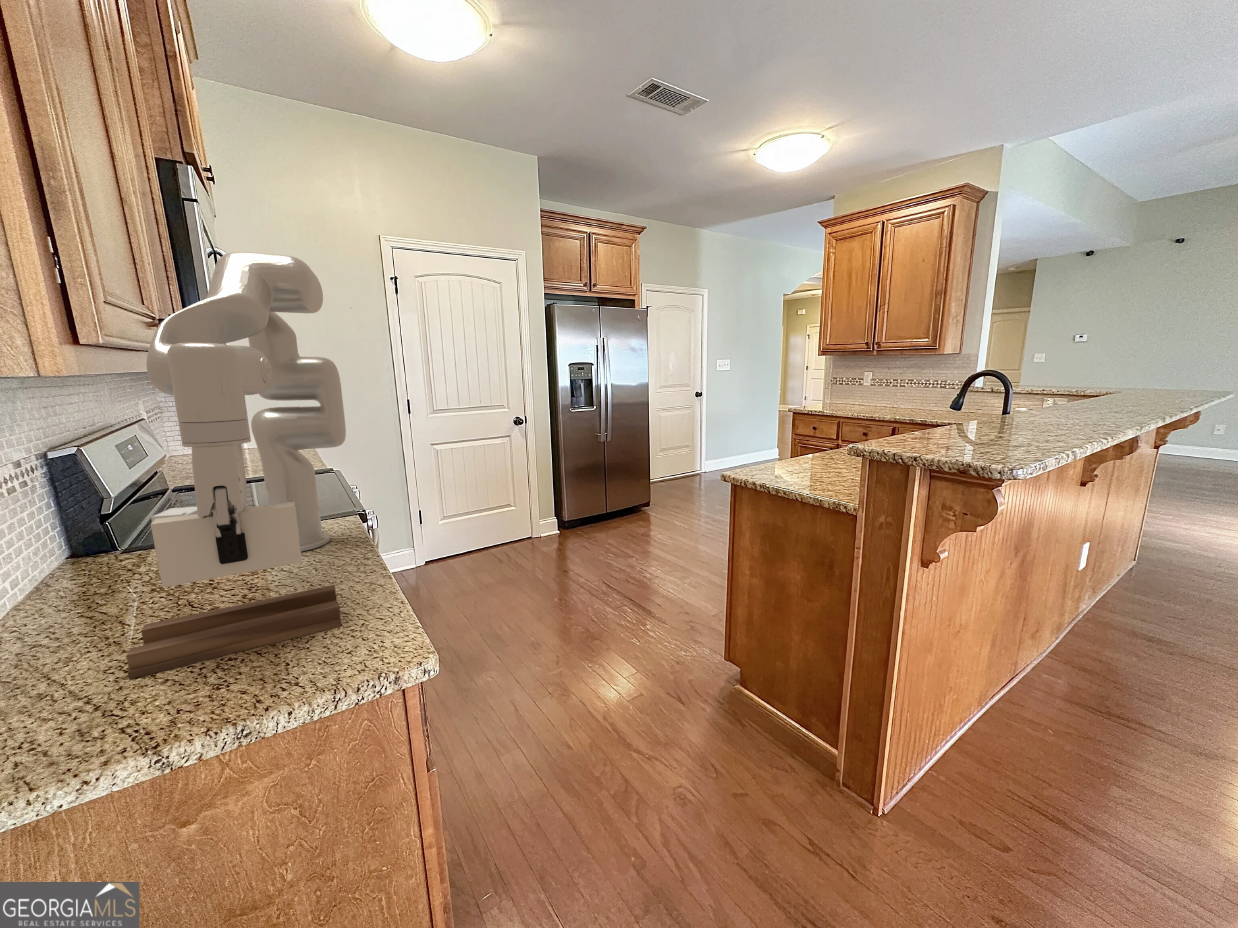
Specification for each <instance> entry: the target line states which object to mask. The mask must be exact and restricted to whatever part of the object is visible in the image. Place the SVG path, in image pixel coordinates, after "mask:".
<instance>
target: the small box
mask: <svg viewBox="0 0 1238 928" xmlns="http://www.w3.org/2000/svg"><path fill="white" fill-rule="evenodd" d="M192 514H198V511H197V506H188V507H187V506H184V507H171V508H168V509H166V510H164V511H162V512H158V513H157V514H155V515H151V516H150V519H151V523H152V522H153V521H154V520H155V519H159V518H167V517H175V516H184V515H192Z"/></svg>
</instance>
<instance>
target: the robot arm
mask: <svg viewBox="0 0 1238 928" xmlns="http://www.w3.org/2000/svg"><path fill="white" fill-rule="evenodd" d="M323 293H324V291H323V288H322V285H321V282H320V280H319V278H318V277H317V275H316V273H314V271H313V270H312V269H311V267H310V266H309V265H308V264H307V263H306V262H304V260H301V259H299V258H298V257H295V256H293V255H292V256H291V255H286V254H285V255H284V254H274V253H261V252H248V251H232V252H228V253H226V254H225V253H224V255H222V256H220V258H218V260H217V261H216V264H215V266H214V270H213V273H212V277H211V281H210V284H209V287H208V291H207V293H206V298H204V299H202V300H199V301H197V302H195V303H192V304H190V305H188V306H186V307H184V308H182V309H180V310H179V311H176V312H175V313H174V312H173V313H172V314H170V315H169V316H167V317H166V318H165V319H163V320H162V321H161V322H160V323H159V325H157V328H155V331H154V333H153V336H152V339H151V341H150V345H149V347H148V351H147V354H146V355H147V356H146V362H145V363H146V372H147V377H148V379H149V381H150V383H151V384H152V385H153V387H155V389H157V390H158V391H159V392H160V393H163V394H166V395H168V396H173V399H174V405H175V411H176V417H177V422H178V428H179V434H180V435H179V436H180V439H181V446H182V447H184V448H191V467H192V476H193V477H192V478H193V484H194V492H195V493H194V494H195V501H196V507H197V511H198V517H200V518H201V519H205V518H206V517H207V516H209V514H210V513H211V512H213V516H214V523H215V530H216V536H217V537H216V544H217V550H218V556H219V562H220V564H227V563H233V562H239V561H245V560H247V559H248V553H247V547H246V540H245V533H242V530H241V523H240V513H242V512H243V511H244V509H245V508H246V506H247V503H248V491H247V490H248V489H247V477H246V475H247V474H246V470H245V469H246V468H245V460H244V455H243V454H244V453H243V448H242V444H247V443H251V441H252V437H251V433H252V436H253V439H254V441H255V444H256V448H257V451H258V454H259V456H260V462H261V468H262V474H263V479H264V480H263V481H264V486H265V487H264V488H265V495H266V501H267V505H273V504H281V503H289V502H295V510H296V517H297V525H298V532H299V540H300V548H301V553H302V552H306V551H310V550H314V549H316V548H319V547H322V546H324V545H326V544H328V543H329V542H330V541H331V533H329V532H326V531H323V530H322V529H323V528H322V520H321V513H320V504H319V495H318V494H319V493H318V486H317V480H316V470H315V468H314V466H313V464H312V463H311V461H310V460H309V459H308V458H307V457H306V456H304V455H303V454H302V453H301V452H300V451H303V450H315V449H316V450H317V449H330V448H336V447H339V446H342V445H343V444H344V442H345V441H346V437H347V433H346V432H347V430H346V429H347V428H346V418H345V410H344V403H343V402H344V401H343V400H344V399H343V392H342V382H341V377H340V372H339V370H338V367H337V366H336V364H335V363H334V361H333V360H331V359H330V358H327V357H322V356H300V355H299V350H298V348H299V347H298V341H297V335H296V332H295V331H294V329H293V328H292V327H291V326H290V324H288V323H287V321H286V320H284V319H283V318H282V317H281V316H280V315H278V313H290V314H292V313H293V314H315V313H318V312H319V311H320V310H321V308H322V306H323V304H324V303H323V302H324V294H323ZM247 338H248V344H249V346H248V345H233V344H232V345H231V344H229V345H228V343H233V342H234V343H235V342H237V341H241V340H244V339H247ZM252 395H259V396H260V397H261V398H263V399H265V400H269V401H276V402H277V401H280V402H281V401H284V402H285V401H315V402H318V403H319V405H318V406H314V405H313V406H276V407H275V406H274V407H267V408H264V409H261V410H258V411H257V412H256V413H255V414H253V416H252V418H251V420H250V424H251V425H250V424H249V419H248V410H247V404H246V396H252ZM249 425H250V426H249ZM250 427H251V432H250ZM233 509H234V511H235V513H229V510H233ZM230 518H234V520H235V521H234V520H231V519H230Z"/></svg>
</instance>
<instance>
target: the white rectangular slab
mask: <svg viewBox="0 0 1238 928" xmlns="http://www.w3.org/2000/svg"><path fill="white" fill-rule="evenodd" d="M229 513H235V511H234V509H233V510H229ZM230 519H231V520H234V518H230ZM234 521H235V520H234ZM240 523H241V530H242V533H245V540H246V547H247V553H248V559H247V560H245V561H239V562H233V563H227V564H220V562H219V556H218V550H217V544H216V537H217V536H216V530H215V523H214V516H213V511H211V513H210V514H209V516H207V517H206V518H205V519H201V518H200V517H198V514H192V515H184V516H175V517H167V518H159V519H155V520H154V521H153V522H152V521H151V523H150V528H151V533H152V538H153V545H154V549H155V550H154V551H155V555H156V559H157V565H158V570H159V571H158V572H159V576H160V582H161V588H168V587H174V586H181V585H184V584H189V583H196V582H200V581H201V582H202V581H206V580H213V579H217V578H224V577H228V576H233V575H234V576H235V575H240V574H247V573H250V572H251V573H252V572H258V571H262V570H268V569H273V568H277V567H283V566H289V565H295V564H300V563H303V557H302V552H301V548H300V540H299V532H298V525H297V517H296V510H295V502H289V503H281V504H273V505H268V504H266V505H265V504H264V505H258V506H251V507H250V506H249V507H245V509H244V511H243V512H242V513H240Z"/></svg>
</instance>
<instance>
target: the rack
mask: <svg viewBox="0 0 1238 928" xmlns="http://www.w3.org/2000/svg"><path fill="white" fill-rule="evenodd" d="M335 586H336V585H335V584H330V585H326V586H322V587H316V588H313V589H307V590H303V591H299V592H295V593H294V592H293V593H288V594H283V595H279V596H274V597H270V598H265V599H259V600H255V601H250V602H245V603H240V604H236V605H235V604H234V605H232V606H227V607H221V608H217V609H213V610H207V611H203V612H198V613H193V614H188V615H184V616H178V617H173V618H169V619H164V620H159V621H155V622H149V623H146V624H145V623H144V625H143V627H142V628H141V630H140V632H141V637H142V643H143V644H142V645H139V646H136V647H132V648H131V647H130V648H129V650H128V652H127V653H126V660H127V664H128V671H127V675H128V680H133V679H137V678H141V677H143V676H144V677H145V676H149V675H151V674H152V675H153V674H156V673H160V672H164V671H169V670H172V669H176V668H179V667H185V666H187V665H188V666H189V665H192V664H196V663H199V662H203V661H208V660H212V659H215V658H220V657H223V656H227V655H232V654H236V653H239V652H243V651H248V650H251V649H255V648H259V647H263V646H267V645H271V644H275V643H279V642H280V643H281V642H283V641H287V640H291V639H296V638H299V637H304V636H307V635H311V634H315V633H318V632H319V633H320V632H323V631H328V630H331V629H337V628H340V627H342V622H341V621H342V619H341V615H340V614H341V613H340V606H339V602H338V600H337V593H336V587H335Z"/></svg>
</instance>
